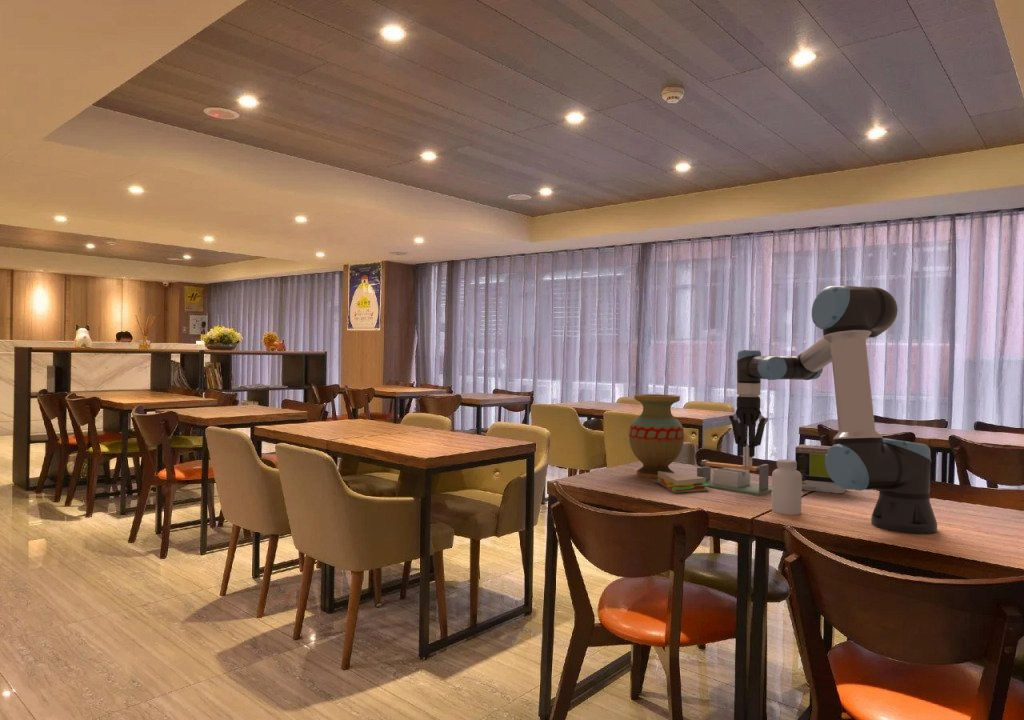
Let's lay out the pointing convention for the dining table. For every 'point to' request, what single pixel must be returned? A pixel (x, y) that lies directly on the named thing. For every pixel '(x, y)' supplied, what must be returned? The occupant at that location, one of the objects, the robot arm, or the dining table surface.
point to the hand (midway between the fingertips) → (747, 466)
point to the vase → (656, 434)
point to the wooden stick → (726, 465)
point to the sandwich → (681, 482)
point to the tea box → (815, 469)
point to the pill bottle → (786, 488)
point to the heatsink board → (736, 480)
